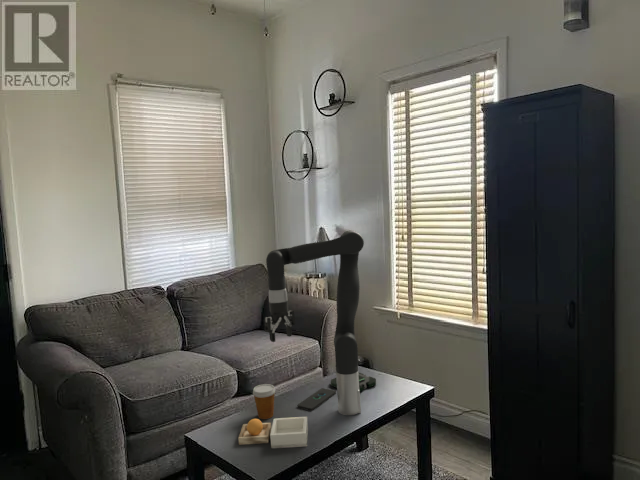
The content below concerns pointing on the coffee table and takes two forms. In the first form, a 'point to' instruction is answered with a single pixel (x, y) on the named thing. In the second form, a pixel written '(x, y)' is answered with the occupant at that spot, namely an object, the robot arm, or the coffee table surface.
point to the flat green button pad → (363, 381)
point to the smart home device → (316, 399)
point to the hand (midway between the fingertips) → (281, 338)
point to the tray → (255, 439)
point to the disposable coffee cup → (264, 400)
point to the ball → (254, 426)
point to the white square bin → (289, 432)
